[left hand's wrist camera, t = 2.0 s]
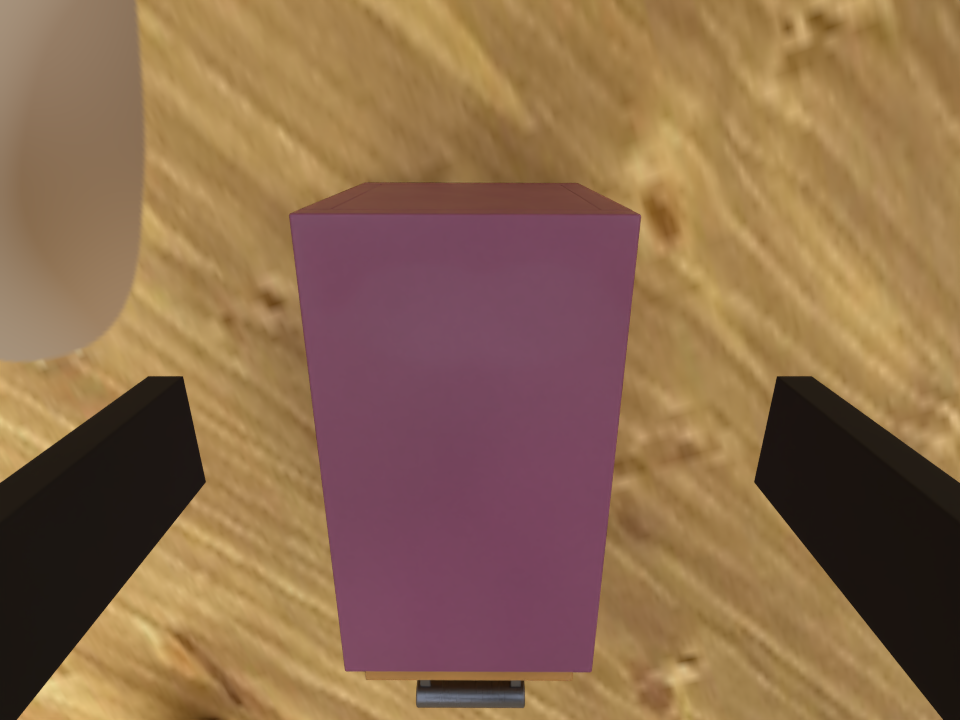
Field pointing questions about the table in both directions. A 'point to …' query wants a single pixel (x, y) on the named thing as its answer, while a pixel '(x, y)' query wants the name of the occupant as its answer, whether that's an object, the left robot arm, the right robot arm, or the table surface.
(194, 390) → the table surface
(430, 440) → the purple rectangular block
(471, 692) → the drawer
